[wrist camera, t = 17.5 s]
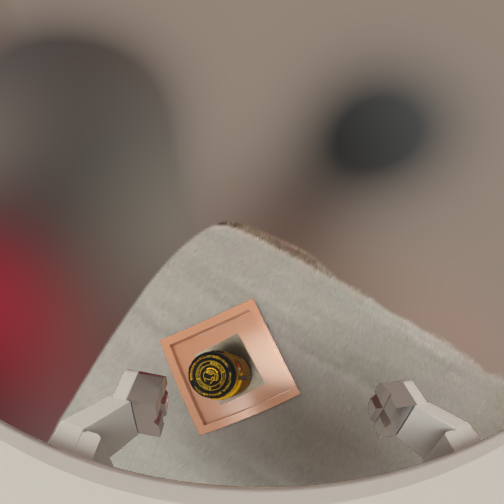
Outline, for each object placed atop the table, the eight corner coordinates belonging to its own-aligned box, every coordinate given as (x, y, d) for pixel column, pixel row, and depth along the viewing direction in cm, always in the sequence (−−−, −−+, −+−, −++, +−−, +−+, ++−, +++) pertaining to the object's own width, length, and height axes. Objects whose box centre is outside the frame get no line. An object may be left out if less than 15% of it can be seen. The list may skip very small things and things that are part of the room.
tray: (299, 392, 38) (300, 393, 36) (204, 432, 37) (199, 435, 35) (254, 302, 45) (252, 298, 42) (166, 342, 43) (159, 340, 41)
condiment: (220, 405, 38) (196, 415, 27) (194, 354, 41) (163, 346, 30) (265, 383, 39) (258, 387, 28) (237, 333, 42) (221, 317, 31)
